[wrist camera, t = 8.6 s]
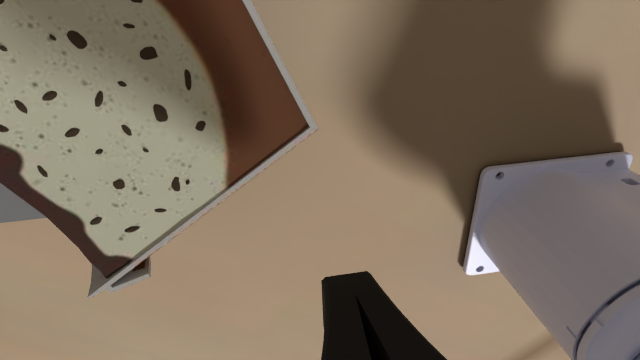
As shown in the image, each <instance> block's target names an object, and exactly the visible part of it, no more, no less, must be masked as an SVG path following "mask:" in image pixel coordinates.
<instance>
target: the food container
mask: <svg viewBox="0 0 640 360" xmlns="http://www.w3.org/2000/svg"><path fill="white" fill-rule="evenodd" d="M316 130H318V128H317V126H316V124H315V122H314V120H313V118H312V116H311V115H310V113H309V111H308V109H307V107H306V105H305V103H304V101H303V99H302V97H301V95H300V93H299V92H298V90H297V88H296V86H295V84H294V82H293V80H292V78H291V76H290V74H289V72H288V70H287V69H286V67H285V65H284V63H283V61H282V59H281V57H280V55H279V53H278V51H277V49H276V47H275V46H274V44H273V42H272V40H271V38H270V36H269V34H268V32H267V30H266V28H265V26H264V24H263V23H262V21H261V19H260V17H259V15H258V13H257V11H256V9H255V7H254V5H253V3H252V1H251V0H0V183H1V184H2V185H4V186H5V187H6V188H8V189H9V190H10V191H12V192H13V193H15V194H16V195H17V196H19V197H20V198H21V199H23V200H24V201H25V202H27V203H28V204H29V205H31V206H32V207H33V208H35V209H36V210H37V211H39V212H40V213H42V214H43V215H44V216H46V217H47V218H48V219H49V220H50V221H51V222H52V223H53V224H54V225H55V226H56V227H58V228H59V229H60V230H61V231H62V232H63V233H64V234H65V235H66V236H67V237H68V238H69V239H70V240H71V241H72V242H73V243H74V244H75V245H76V246H77V247H78V248H79V249H80V250H81V251H82V253H83V254H84V255H85V256H86V258H87V259H88V260H89V261H90V263H92V277H91V285H90V289H89V294H88V298H91V297H93V296H95V295H96V294H98V293H100V292H102V291H104V290H105V289H107V290H108V291H109V292H110V293H112V292H115V291H117V290H120V289H122V288H124V287H127V286H129V285H132V284H134V283H137V282H139V281H141V280H144V279H146V278H149V277H150V270H151V261H150V255H152V254H153V253H154V252H156V251H157V250H158V249H160V248H161V247H162V246H164V245H165V244H166V243H168V242H169V241H170V240H171V239H173V238H174V237H175V236H177V235H178V234H179V233H181V232H182V231H183V230H185V229H186V228H187V227H189V226H190V225H191V224H193V223H194V222H195V221H197V220H198V219H199V218H201V217H202V216H203V215H205V214H206V213H207V212H209V211H210V210H211V209H213V208H214V207H215V206H217V205H218V204H219V203H221V202H222V201H223V200H225V199H226V198H227V197H229V196H230V195H231V194H233V193H234V192H235V191H237V190H238V189H239V188H241V187H242V186H243V185H245V184H246V183H247V182H249V181H250V180H251V179H253V178H254V177H255V176H257V175H258V174H259V173H261V172H262V171H263V170H265V169H266V168H267V167H269V166H270V165H271V164H273V163H274V162H275V161H277V160H278V159H279V158H281V157H282V156H283V155H285V154H286V153H287V152H288V151H290V150H291V149H292V148H294V147H295V146H296V145H298V144H299V143H300V142H302V141H303V140H304V139H306V138H307V137H308V136H310V135H311V134H312V133H314V132H315V131H316Z"/></svg>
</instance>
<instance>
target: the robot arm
mask: <svg viewBox="0 0 640 360" xmlns="http://www.w3.org/2000/svg"><path fill="white" fill-rule="evenodd" d="M632 158H633V157H632V155H631V154H629V153H627V152H624V151H623V152H614V153H605V154H596V155H587V156H578V157H570V158H561V159H552V160H543V161H534V162H525V163H516V164H507V165H498V166H490V167H487V168H485V169H484V170H483V171H482V172H481V175H480V180H479V185H478V191H477V196H476V201H475V207H474V212H473V217H472V223H471V228H470V233H469V239H468V244H467V249H466V255H465V260H464V265H463V270H464V272H465V273H466V274H467V275H477V274H484V273H491V272H498V271H500V272H501V273H502V274H503V275H504V277H505V278H506V279H507V280H508V282H509V283H510V284H511V285H512V287H513V288H514V289H515V290H516V291H517V293H518V294H519V295H520V296H521V298H522V299H523V300H524V301H525V303H526V304H527V305H528V306H529V308H530V309H531V310H532V311H533V312H534V314H535V315H536V316H537V317H538V319H539V320H540V321H541V322H542V324H543V325H544V326H545V327H546V329H547V330H548V331H549V332H550V333H551V335H552V336H553V337H554V338H555V340H556V341H557V342H558V343H559V345H560V346H561V347H562V348H563V349H564V351H565V352H566V353H567V354H568V356H569V357H570V358H571V359H572V360H640V175H638V174H636V173H634V172H632V171H631V170H629V167H630V165H631V162H632ZM499 172H500V174H499V175H498V176H496V175H497V174H498V173H499ZM322 301H323V323H324V342H323V351H322V358H321V360H447V359H446V358H445V357H444V356H443V355H442V354H441V353H440V352H439V351H438V350H437V349H435V348H434V347H433V346H432V345H431V344H430V343H429V342H428V341H427V340H426V339H425V337H424V336H423V335H422V334H421V333H420V332H419V331H418V330H417V329H416V328H415V327H414V326H413V325H412V324H411V323H410V321H409V320H408V319H407V318H406V317H405V316H404V315H403V314H402V313H401V311H400V310H399V309H398V308H397V307H396V306H395V304H394V303H393V302H392V301H391V300H390V298H389V297H388V296H387V295H386V293H385V292H384V291H383V290H382V288H381V287H380V286H379V285H378V283H377V282H376V281H375V279H374V278H373V277H372V275H371V274H370V273H369V272H367V271H365V272H358V273H351V274H344V275H337V276H330V277H325V278H324V279H323V280H322Z"/></svg>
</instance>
